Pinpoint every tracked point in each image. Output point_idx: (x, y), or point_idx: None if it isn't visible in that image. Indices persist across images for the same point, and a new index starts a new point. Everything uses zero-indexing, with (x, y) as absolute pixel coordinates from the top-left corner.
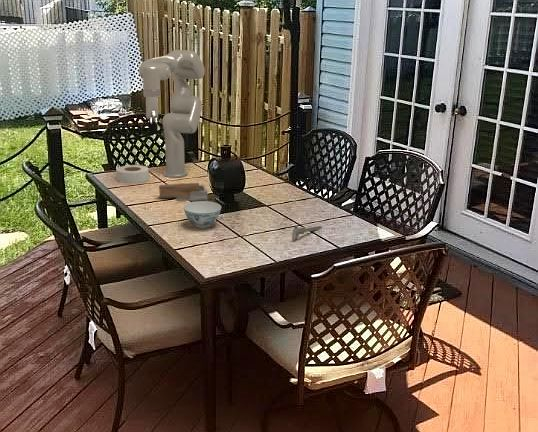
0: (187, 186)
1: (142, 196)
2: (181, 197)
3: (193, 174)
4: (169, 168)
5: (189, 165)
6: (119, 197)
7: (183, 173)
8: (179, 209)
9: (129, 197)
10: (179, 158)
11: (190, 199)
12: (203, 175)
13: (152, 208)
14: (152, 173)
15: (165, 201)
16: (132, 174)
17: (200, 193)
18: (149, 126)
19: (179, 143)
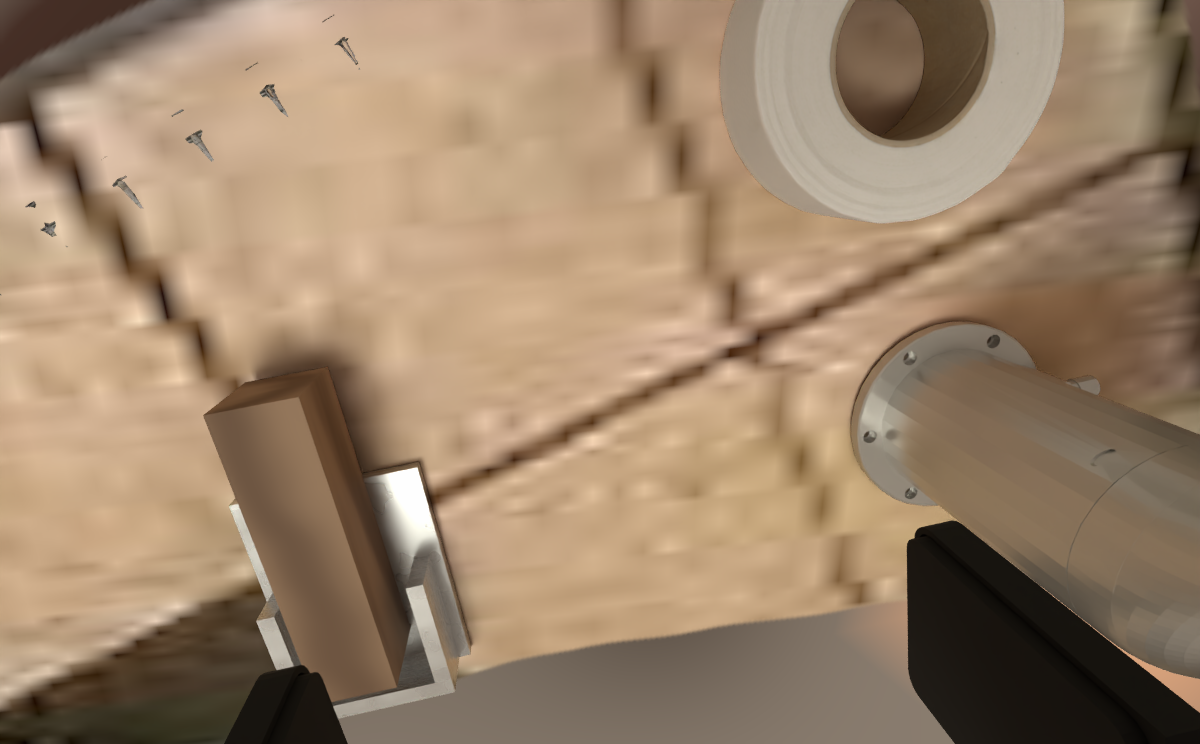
0: (285, 623)
1: (327, 220)
2: None
3: None
4: (930, 399)
5: None
6: (267, 4)
7: (907, 481)
8: (33, 538)
9: (276, 105)
10: (974, 526)
11: (265, 589)
12: (886, 598)
13: (3, 342)
14: (1000, 228)
15: None
16: (748, 73)
17: None
18: (940, 569)
19: (1104, 628)
